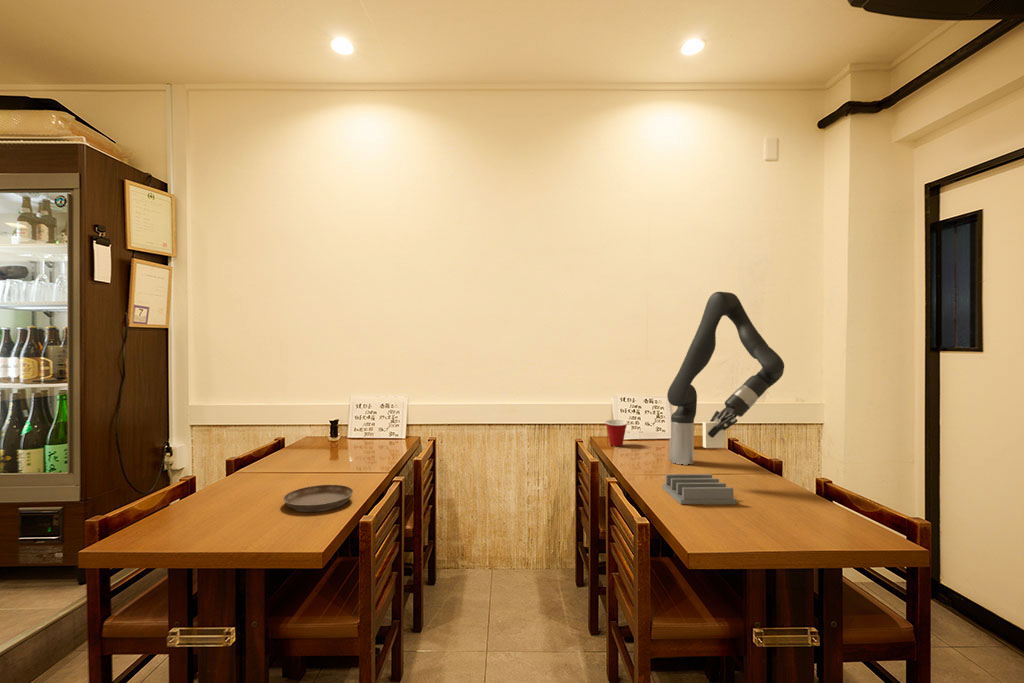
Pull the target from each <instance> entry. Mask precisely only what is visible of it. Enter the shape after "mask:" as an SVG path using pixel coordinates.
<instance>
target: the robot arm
mask: <svg viewBox="0 0 1024 683" xmlns="http://www.w3.org/2000/svg"><path fill="white" fill-rule="evenodd" d="M723 316H725V317H727V318H728V319H729V320H730V321H731V322H732V323H733V324H734V326H735V328H736V330H737V333H738V334H737V335H738V338H739V340H740V342H741V344H742V346H743V347H744V349H745V350H746V351H747V352H748V353H749V356H751V358H753V359H755V360H757V361H758V363H759V364H760V365H761V368H760V370H759V371H758V372H757V373H756V374H755V375H751V376H750V377H749V378H748V379H747V380H746V381H745V382H744V383H743V384H742V385H740V386H739V387H738V388H737V389H736V390H735V391H733V393H732V394H731V395H729V397H728V398H727V399H726V400H725V401H724V405H725V408H723V409H722V410H720V411H718V410H716V411H715V412H714V414H713V415H712V417H711V419H710V420H709V422H718V423H717V424H716V425H715V426H716V427H715V426H714V427H713V428H712V429H711V430H710V431H709V432H708V435H709V436H710V437H712V438H713V437H714V436H715V435H716V434H717V433H718V432H719V431H722V430H725V431H726V430H727V429H729V428H730V427H731V426H733V425H734V424H736V423H738V419H737V417H740V418H742V417H743V416H744V415H745V414H746V413H747V412H748V411H749V410H750V409H751V408H752V407H753V406H754V405H755V403H757V401H758V400H759V398H761V397H762V396H763V394H764V393H765V392H766V391H767V390H768V389H770V388H771V387H772V386H774V384H776V383H777V382H778V381H779V380H780V379H781V378H782V377H783V374H784V372H785V371H784V370H785V362H784V361H783V359H782V357H781V356H780V355H779V354H778V353H777V352H776V351H775V350H774V349H773V348H771V347H770V346H769V344H768V343H767V342H766V340H765V339H764V338H763V336H762V335H761V334H760V333H759V332H758V330H757V329H756V327H755V326H754V324H753V323H752V321H751V320H750V319H751V318H750V317H749V316H748V314H747V311H746V310H745V308H744V306H743V304H742V302H741V300H740V299H739V297H738V296H737V295H736V294H735V293H733V292H727V291H716V292H714V293H712V294H711V295H709V298H708V300H707V302H706V305H705V308H704V310H703V314H702V317H701V321H700V322H699V325H698V328H697V330H696V333H695V335H694V337H693V339H692V341H691V343H690V346H689V347H688V349H687V352H686V355H685V357H684V359H683V361H682V363H681V366H680V368H679V370H678V372H677V374H676V375H675V377H674V378H673V380H672V382H671V384H670V386H669V388H668V391H667V400H668V401H667V402H668V403H669V404H670V405H672V406H673V407H677V408H676V410H675V411H674V412H673V413H672V414H671V416H670V438H669V444H668V445H669V446H668V447H669V448H668V449H669V453H668V455H669V456H668V458H669V461H670V463H672V464H675V463H676V464H677V465H681V464H683V466H684V465H685V466H686V465H688V464H690V465H693V464H694V461H695V460H694V458H695V457H694V454H695V453H694V448H695V442H694V441H695V439H694V438H695V436H694V435H695V429H694V428H695V418H696V415H697V404H698V394H697V390H696V388H695V386H694V385H692V382H693V380H694V379H695V378H696V377H697V376H698V375H699V374H700V373H701V372H702V371H703V370H704V369H705V367H707V365H708V364H709V363H710V361H711V360H712V356H713V354H714V353H715V350H716V345H717V343H716V342H717V341H716V340H717V337H716V334H717V333H716V332H717V328H718V325H719V323H720V321H721V319H722V318H723Z"/></svg>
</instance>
